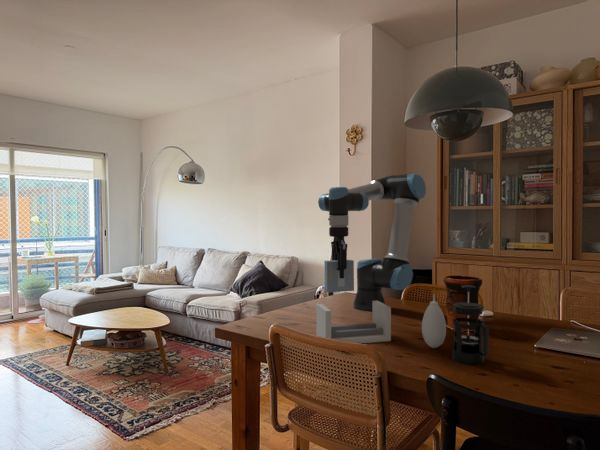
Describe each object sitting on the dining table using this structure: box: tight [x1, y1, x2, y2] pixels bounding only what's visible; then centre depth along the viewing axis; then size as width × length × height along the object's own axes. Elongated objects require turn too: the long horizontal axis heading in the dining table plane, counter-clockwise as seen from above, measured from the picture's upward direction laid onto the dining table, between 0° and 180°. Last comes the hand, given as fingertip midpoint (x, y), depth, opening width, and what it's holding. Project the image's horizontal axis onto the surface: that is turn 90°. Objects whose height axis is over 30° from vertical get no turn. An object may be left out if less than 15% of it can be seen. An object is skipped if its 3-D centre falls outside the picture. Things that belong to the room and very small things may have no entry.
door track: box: [315, 301, 392, 344], centre depth 156 cm, size 24×12×12 cm, turn 103°
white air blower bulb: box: [421, 295, 447, 349], centre depth 145 cm, size 8×8×18 cm
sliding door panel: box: [323, 259, 355, 293], centre depth 171 cm, size 11×4×12 cm, turn 103°
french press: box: [451, 285, 490, 366], centre depth 132 cm, size 12×9×23 cm
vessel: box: [443, 274, 483, 331], centre depth 170 cm, size 14×14×20 cm
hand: (339, 285), depth 171 cm, fingers closed on sliding door panel, 3 cm apart
